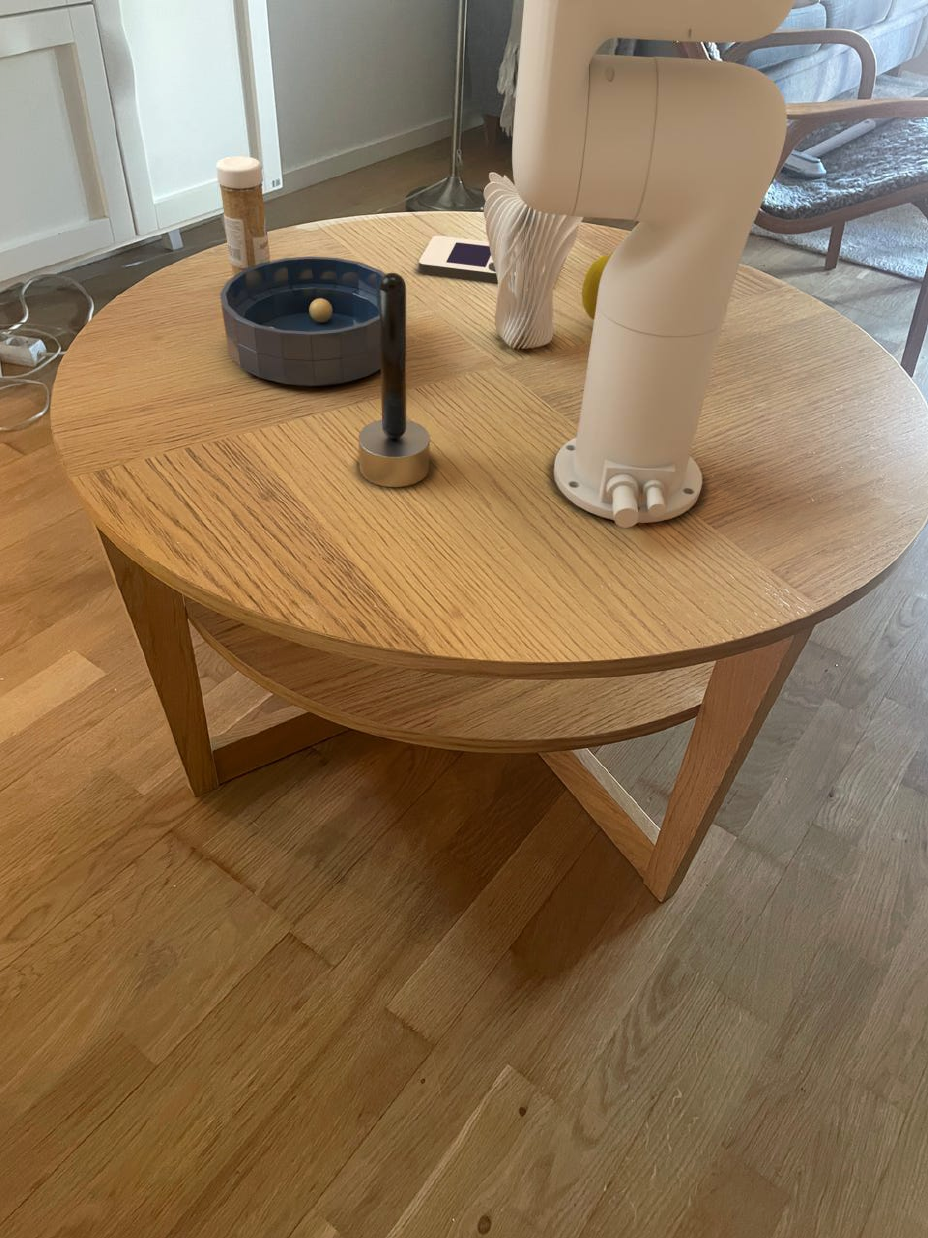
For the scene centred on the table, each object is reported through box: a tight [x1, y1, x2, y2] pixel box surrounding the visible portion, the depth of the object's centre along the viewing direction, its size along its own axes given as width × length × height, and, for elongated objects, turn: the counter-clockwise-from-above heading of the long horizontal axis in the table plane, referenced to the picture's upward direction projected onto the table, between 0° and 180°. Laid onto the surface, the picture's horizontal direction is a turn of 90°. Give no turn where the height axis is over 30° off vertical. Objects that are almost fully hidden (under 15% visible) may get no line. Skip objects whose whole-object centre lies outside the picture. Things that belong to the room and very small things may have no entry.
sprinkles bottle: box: [215, 155, 271, 277], centre depth 99 cm, size 5×5×14 cm
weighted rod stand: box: [357, 272, 431, 488], centre depth 73 cm, size 6×6×17 cm
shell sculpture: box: [483, 172, 584, 350], centre depth 90 cm, size 8×8×18 cm
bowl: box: [219, 255, 387, 387], centre depth 92 cm, size 17×17×6 cm
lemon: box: [581, 251, 614, 321], centre depth 98 cm, size 6×6×8 cm
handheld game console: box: [418, 235, 545, 286], centre depth 110 cm, size 9×15×1 cm, turn 79°
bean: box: [309, 298, 333, 323], centre depth 96 cm, size 2×2×2 cm
